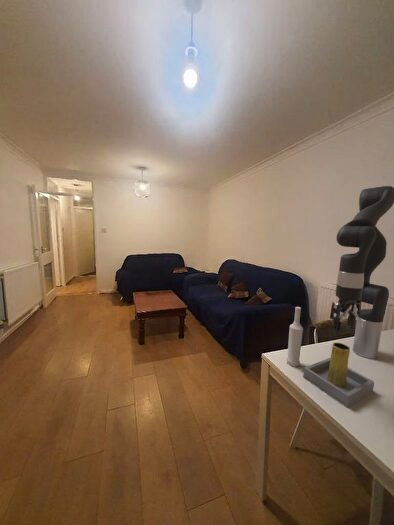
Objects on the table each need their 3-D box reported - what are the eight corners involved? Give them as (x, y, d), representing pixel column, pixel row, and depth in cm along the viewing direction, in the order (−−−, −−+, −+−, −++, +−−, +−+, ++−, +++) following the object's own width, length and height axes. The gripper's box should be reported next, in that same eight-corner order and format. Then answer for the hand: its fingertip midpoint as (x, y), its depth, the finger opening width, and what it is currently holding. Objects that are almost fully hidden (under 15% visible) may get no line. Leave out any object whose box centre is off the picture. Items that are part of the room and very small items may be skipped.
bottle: (293, 368, 90) (298, 310, 86) (283, 361, 94) (288, 306, 90) (302, 365, 92) (308, 308, 88) (292, 358, 96) (297, 304, 93)
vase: (349, 388, 77) (354, 351, 75) (330, 385, 78) (335, 349, 76) (341, 377, 83) (346, 342, 81) (324, 375, 84) (328, 340, 82)
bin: (328, 366, 91) (329, 357, 91) (372, 391, 77) (374, 381, 77) (303, 377, 84) (304, 367, 83) (346, 407, 70) (348, 396, 69)
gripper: (349, 280, 82) (344, 321, 84) (326, 284, 75) (321, 328, 78) (372, 285, 75) (366, 329, 77) (349, 289, 69) (343, 337, 71)
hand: (343, 328), depth 78 cm, fingers open, 8 cm apart
